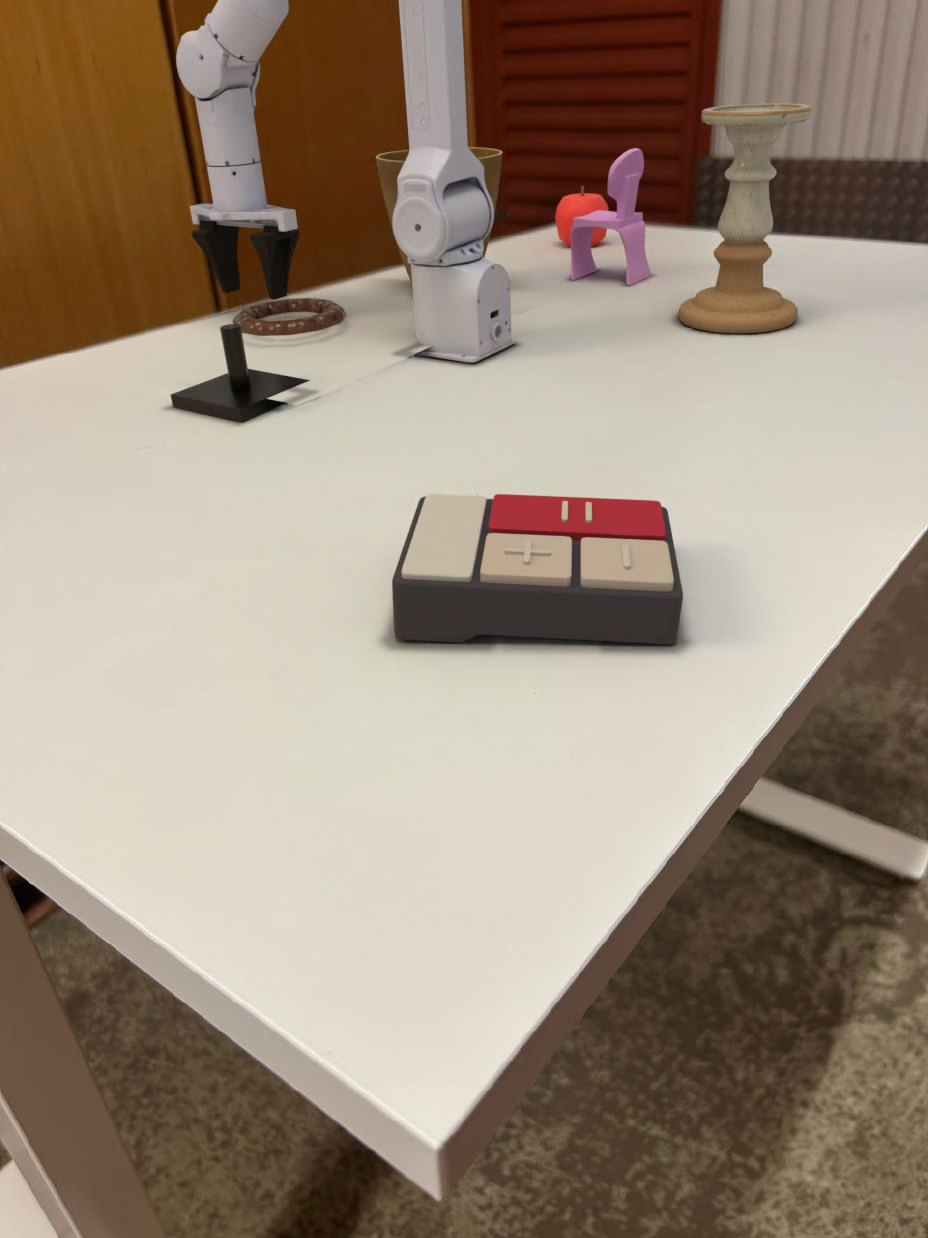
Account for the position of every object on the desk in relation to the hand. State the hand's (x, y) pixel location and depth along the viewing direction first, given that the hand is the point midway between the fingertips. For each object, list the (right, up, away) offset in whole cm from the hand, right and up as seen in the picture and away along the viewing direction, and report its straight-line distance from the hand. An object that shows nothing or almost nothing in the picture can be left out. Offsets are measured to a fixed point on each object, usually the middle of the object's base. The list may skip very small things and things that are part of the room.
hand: (254, 294), depth 109 cm
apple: (+42, +19, +33) cm, 56 cm away
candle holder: (+53, -5, -6) cm, 54 cm away
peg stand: (+4, -17, -21) cm, 27 cm away
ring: (+4, -3, -1) cm, 6 cm away
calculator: (+28, -36, -54) cm, 71 cm away
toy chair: (+43, +7, +14) cm, 45 cm away
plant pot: (+22, +4, +11) cm, 25 cm away
